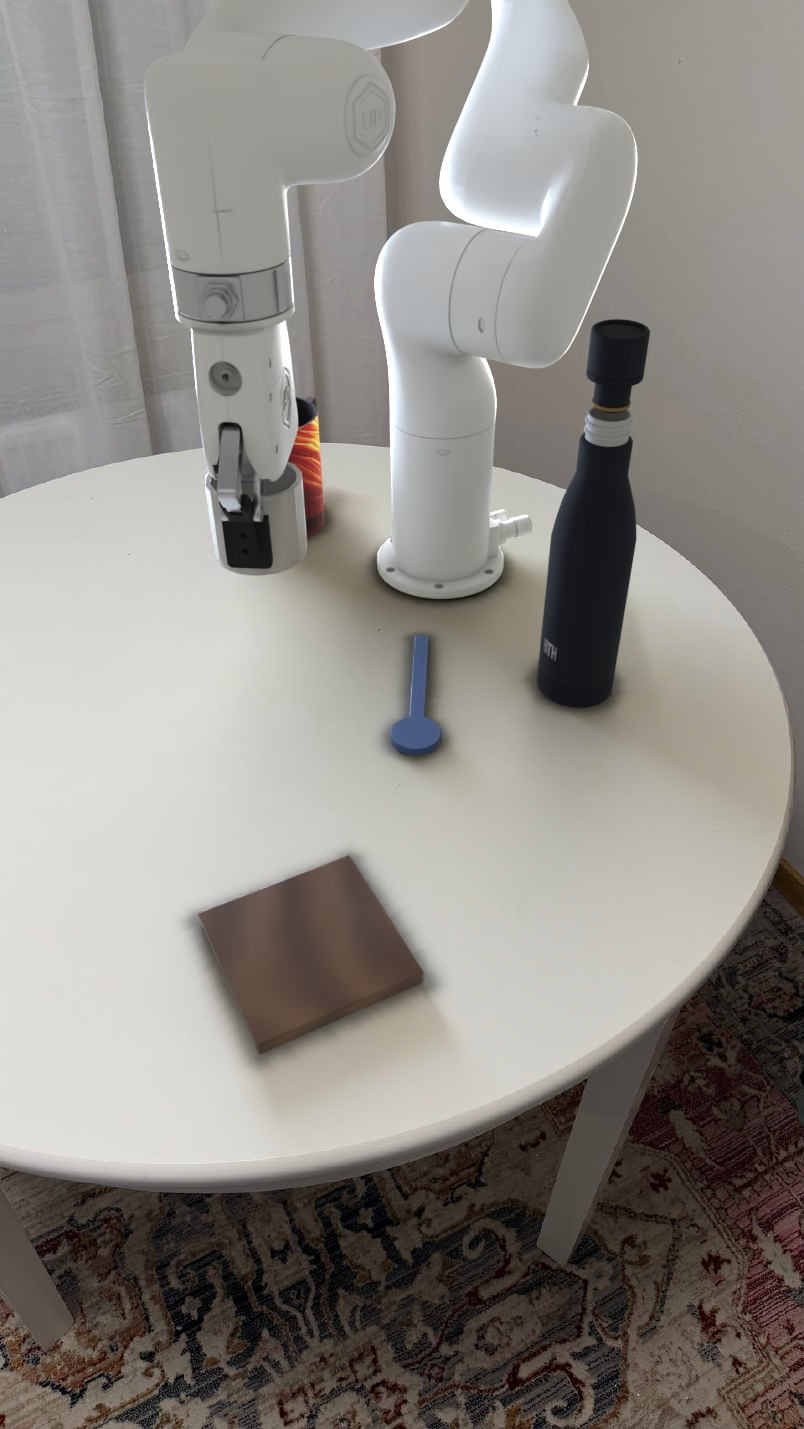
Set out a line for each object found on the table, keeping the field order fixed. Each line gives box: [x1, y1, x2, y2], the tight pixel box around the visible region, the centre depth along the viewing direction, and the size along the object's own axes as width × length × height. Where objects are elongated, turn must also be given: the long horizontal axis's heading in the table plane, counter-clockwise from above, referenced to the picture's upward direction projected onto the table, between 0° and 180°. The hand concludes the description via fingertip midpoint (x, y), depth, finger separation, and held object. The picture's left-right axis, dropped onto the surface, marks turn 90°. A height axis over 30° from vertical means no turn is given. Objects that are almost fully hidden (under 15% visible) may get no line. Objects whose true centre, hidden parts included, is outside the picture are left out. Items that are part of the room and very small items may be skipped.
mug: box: [288, 395, 326, 539], centre depth 105 cm, size 10×14×12 cm
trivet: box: [197, 854, 424, 1055], centre depth 65 cm, size 11×11×1 cm
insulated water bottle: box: [536, 318, 651, 708], centre depth 76 cm, size 6×6×30 cm
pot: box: [204, 461, 308, 577], centre depth 73 cm, size 7×7×6 cm
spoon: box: [390, 634, 442, 756], centre depth 85 cm, size 16×4×1 cm, turn 177°
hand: (260, 537), depth 74 cm, fingers closed on pot, 7 cm apart
